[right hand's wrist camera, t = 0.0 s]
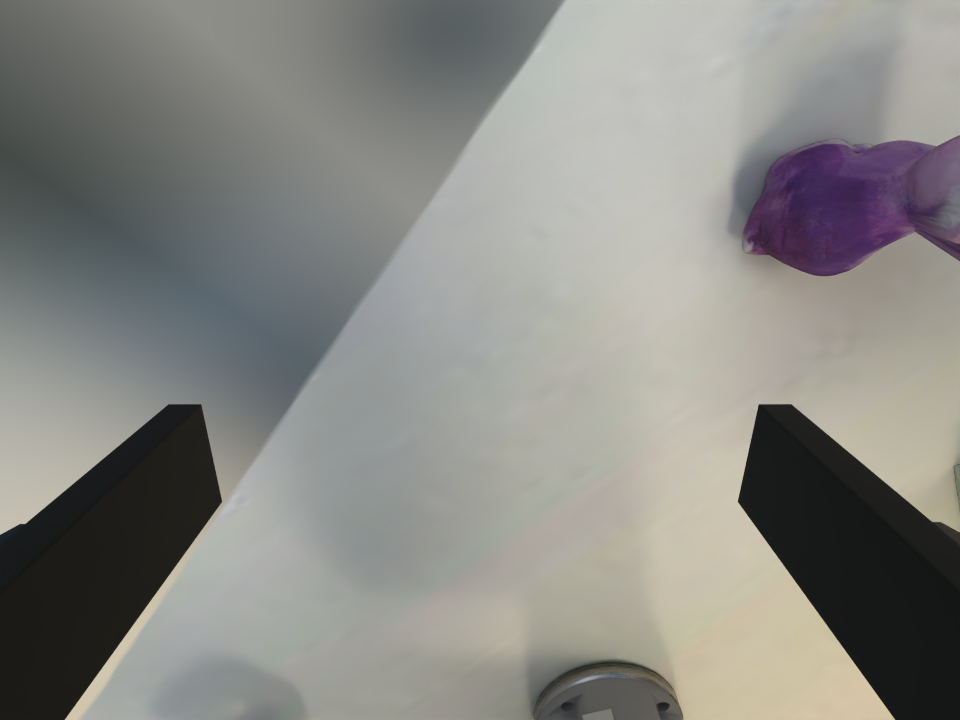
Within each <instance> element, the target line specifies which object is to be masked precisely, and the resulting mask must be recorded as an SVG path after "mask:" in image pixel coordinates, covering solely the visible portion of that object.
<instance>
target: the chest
mask: <svg viewBox="0 0 960 720" xmlns="http://www.w3.org/2000/svg"><path fill="white" fill-rule="evenodd" d="M954 471H955V478H956V485H957V492H958V499H959V506H960V464H959V465H956V466H954Z"/></svg>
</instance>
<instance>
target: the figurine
mask: <svg viewBox="0 0 960 720" xmlns="http://www.w3.org/2000/svg"><path fill="white" fill-rule="evenodd" d="M914 232H917V233H918V234H920V235H921V236H923V237H924V238H926V239H927V240H929V241H930V242H932V243H933V244H935V245H936V246H938V247H939V248H941V249H942V250H944V251H945V252H947V253H948V254H950V255H951V256H953V257H954V258H956V259H957V260H959V261H960V136H957V137H955V138H953V139H951V140H949V141H947V142H945V143H943V144H941V145H939V146H937V147H936V146H932V145H927V144H923V143H919V142H913V141H892V142H886V143H882V144H879V145H875V146H873V145H871V144H860V145H851V144H850V143H848V142H846V141H844V140H841V139H836V138H835V139H829V140H825V141H822V142H818V143H814V144H811V145H809V146H806V147H802V148H799V149H797V150H795V151H793V152H790V153H788V154H786V155H784V156H782V157H780V158H779V159H778V160H777V161H776V162H775V163H774V164H773V165H772V166H771V167H770V169H769V172H768V174H767V177H766V182H765V188H764V190H763V193H762V195H761V197H760V198H759V200H758V201H757V203H756V204H755V206H754V208H753V210H752V213H751V215H750V217H749V219H748V221H747V223H746V225H745V228H744V230H743V235H742V249H743V251H744V252H745V253H748V254H753V255H770V256H772V257H774V258H776V259H777V260H779V261H781V262H783V263H785V264H787V265H789V266H791V267H793V268H796V269H798V270H800V271H803V272H806V273H808V274H812V275H816V276H832V275H837V274H840V273H843V272H846V271H849V270H851V269H853V268H854V267H856V266H857V265H859V264H860V263H862V262H863V261H865V260H866V259H867V258H868V257H870V256H871V255H872V254H873V253H875V252H876V251H878V250H879V249H881V248H882V247H884V246H886V245H888V244H890V243H892V242H894V241H896V240H898V239H901V238H903V237H905V236H907V235H909V234H911V233H914Z"/></svg>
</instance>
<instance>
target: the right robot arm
mask: <svg viewBox="0 0 960 720" xmlns="http://www.w3.org/2000/svg"><path fill="white" fill-rule="evenodd" d="M221 503H222V499H221V494H220V490H219V485H218V480H217V476H216V471H215V466H214V462H213V457H212V453H211V448H210V443H209V439H208V434H207V429H206V425H205V420H204V415H203V411H202V406H201V404H199V405H198V404H196V405H195V404H192V405H191V404H188V405H187V404H182V405H181V404H172V405H171V404H169V405H167V406H166V407H165V408H164V409H163V410H161V411H160V412H159V413H158V414H157V415H155V416H154V417H153V418H152V419H151V420H149V421H148V422H147V423H146V424H145V425H143V426H142V427H141V428H140V429H139V430H138V431H136V432H135V433H134V434H133V435H132V436H130V437H129V438H128V439H127V440H126V441H124V442H123V443H122V444H121V445H120V446H118V447H117V448H116V449H115V450H113V451H112V452H111V453H110V454H109V455H108V456H106V457H105V458H104V459H103V460H102V461H100V462H99V463H98V464H97V465H96V466H94V467H93V468H92V469H91V470H90V471H88V472H87V473H86V474H85V475H84V476H82V477H81V478H80V479H79V480H78V481H76V482H75V483H74V484H73V485H72V486H70V487H69V488H68V489H67V490H66V491H64V492H63V493H62V494H61V495H60V496H58V497H57V498H56V499H55V500H54V501H52V502H51V503H50V504H49V505H48V506H46V507H45V508H44V509H43V510H42V511H40V512H39V513H38V514H37V515H36V516H34V517H33V518H32V519H31V520H30V521H28V522H27V523H26V524H19V525H18V526H16V527H14V528H12V529H10V530H8V531H7V532H5V533H3V534H1V535H0V720H65V718H66V717H67V716H68V714H69V713H70V712H71V710H72V709H73V707H74V706H75V705H76V703H77V702H78V701H79V699H80V698H81V696H82V695H83V694H84V692H85V691H86V689H87V688H88V687H89V685H90V684H91V683H92V681H93V680H94V678H95V677H96V676H97V674H98V673H99V671H100V670H101V669H102V667H103V666H104V665H105V663H106V662H107V660H108V659H109V658H110V656H111V655H112V653H113V652H114V651H115V649H116V648H117V647H118V645H119V644H120V642H121V641H122V640H123V638H124V637H125V635H126V634H127V633H128V631H129V630H130V629H131V627H132V626H133V624H134V623H135V622H136V620H137V619H138V617H139V616H140V615H141V613H142V612H143V611H144V609H145V608H146V606H147V605H148V604H149V602H150V601H151V599H152V598H153V597H154V595H155V594H156V593H157V591H158V590H159V588H160V587H161V586H162V584H163V583H164V581H165V580H166V579H167V577H168V576H169V575H170V573H171V572H172V570H173V569H174V568H175V566H176V565H177V563H178V562H179V561H180V559H181V558H182V557H183V555H184V554H185V552H186V551H187V550H188V548H189V547H190V545H191V544H192V543H193V541H194V540H195V538H196V537H197V536H198V534H199V533H200V532H201V530H202V529H203V527H204V526H205V525H206V523H207V522H208V520H209V519H210V518H211V516H212V515H213V514H214V512H215V511H216V509H217V508H218V507H219V505H220V504H221ZM738 503H739V504H740V505H741V507H742V508H743V509H744V511H745V512H746V514H747V515H748V516H749V518H750V519H751V521H752V522H753V523H754V525H755V526H756V527H757V529H758V530H759V532H760V533H761V534H762V536H763V537H764V539H765V540H766V541H767V543H768V544H769V545H770V547H771V548H772V550H773V551H774V552H775V554H776V555H777V557H778V558H779V559H780V561H781V562H782V563H783V565H784V566H785V568H786V569H787V570H788V572H789V573H790V575H791V576H792V577H793V579H794V580H795V581H796V583H797V584H798V586H799V587H800V588H801V590H802V591H803V593H804V594H805V595H806V597H807V598H808V599H809V601H810V602H811V604H812V605H813V606H814V608H815V609H816V611H817V612H818V613H819V615H820V616H821V617H822V619H823V620H824V622H825V623H826V624H827V626H828V627H829V629H830V630H831V631H832V633H833V634H834V635H835V637H836V638H837V640H838V641H839V642H840V644H841V645H842V647H843V648H844V649H845V651H846V652H847V653H848V655H849V656H850V658H851V659H852V660H853V662H854V663H855V665H856V666H857V667H858V669H859V670H860V671H861V673H862V674H863V676H864V677H865V678H866V680H867V681H868V683H869V684H870V685H871V687H872V688H873V689H874V691H875V692H876V694H877V695H878V696H879V698H880V699H881V701H882V702H883V703H884V705H885V706H886V707H887V709H888V710H889V712H890V713H891V714H892V716H893V717H894V719H895V720H960V533H959V532H958V531H956V530H954V529H952V528H950V527H948V526H947V525H945V524H943V523H941V522H932V521H930V520H929V519H928V518H927V517H926V516H924V515H923V514H922V513H921V512H920V511H918V510H917V509H916V508H915V507H914V506H912V505H911V504H910V503H909V502H908V501H906V500H905V499H904V498H903V497H902V496H900V495H899V494H898V493H897V492H896V491H894V490H893V489H892V488H891V487H890V486H888V485H887V484H886V483H885V482H884V481H882V480H881V479H880V478H879V477H878V476H876V475H875V474H874V473H873V472H872V471H870V470H869V469H868V468H867V467H866V466H864V465H863V464H862V463H861V462H860V461H858V460H857V459H856V458H855V457H854V456H852V455H851V454H850V453H849V452H848V451H847V450H845V449H844V448H843V447H842V446H841V445H839V444H838V443H837V442H836V441H835V440H833V439H832V438H831V437H830V436H829V435H827V434H826V433H825V432H824V431H823V430H821V429H820V428H819V427H818V426H817V425H815V424H814V423H813V422H812V421H811V420H809V419H808V418H807V417H806V416H805V415H803V414H802V413H801V412H800V411H799V410H797V409H796V408H795V407H794V406H793V405H791V404H759V406H758V411H757V415H756V420H755V425H754V429H753V434H752V439H751V443H750V448H749V453H748V457H747V462H746V466H745V471H744V476H743V480H742V485H741V490H740V494H739V499H738ZM534 720H683V715H682V712H681V709H680V706H679V703H678V700H677V697H676V695H675V693H674V691H673V689H672V688H671V686H670V685H669V684H668V683H667V682H666V681H665V680H664V679H663V678H661V677H660V676H659V675H657V674H655V673H654V672H652V671H650V670H647V669H645V668H642V667H639V666H635V665H630V664H623V663H602V664H594V665H589V666H585V667H581V668H578V669H576V670H573V671H571V672H568V673H566V674H565V675H563V676H561V677H559V678H558V679H556V680H555V681H554V682H552V683H551V684H550V685H549V686H548V687H547V688H546V689H545V690H544V691H543V693H542V694H541V695H540V697H539V699H538V701H537V703H536V706H535V710H534Z"/></svg>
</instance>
